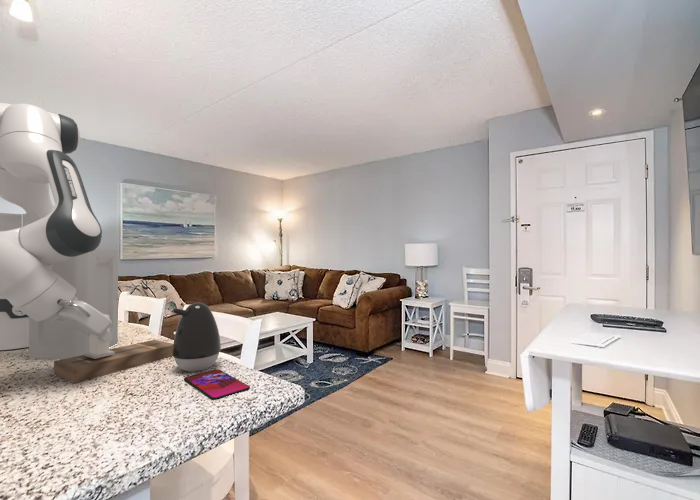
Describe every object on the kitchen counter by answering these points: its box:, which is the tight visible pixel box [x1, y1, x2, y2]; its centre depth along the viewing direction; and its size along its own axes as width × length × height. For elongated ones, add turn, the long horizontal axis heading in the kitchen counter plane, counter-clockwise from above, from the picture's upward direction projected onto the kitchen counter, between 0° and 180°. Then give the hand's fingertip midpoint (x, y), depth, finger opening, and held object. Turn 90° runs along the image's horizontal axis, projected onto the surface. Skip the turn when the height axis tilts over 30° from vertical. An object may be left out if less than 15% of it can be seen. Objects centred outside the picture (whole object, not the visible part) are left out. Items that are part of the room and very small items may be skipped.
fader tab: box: [84, 315, 115, 359], centre depth 78 cm, size 4×5×9 cm
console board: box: [53, 339, 174, 384], centre depth 81 cm, size 22×10×3 cm, turn 150°
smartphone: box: [183, 368, 251, 401], centre depth 68 cm, size 8×1×15 cm
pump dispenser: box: [172, 302, 222, 373], centre depth 78 cm, size 10×10×15 cm
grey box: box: [28, 249, 119, 360], centre depth 92 cm, size 19×15×28 cm
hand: (103, 336), depth 78 cm, fingers closed on fader tab, 4 cm apart
